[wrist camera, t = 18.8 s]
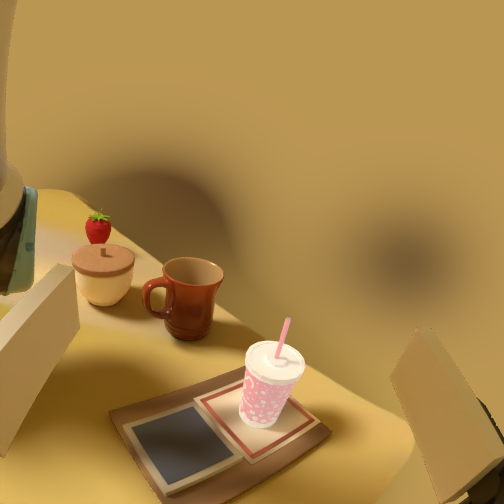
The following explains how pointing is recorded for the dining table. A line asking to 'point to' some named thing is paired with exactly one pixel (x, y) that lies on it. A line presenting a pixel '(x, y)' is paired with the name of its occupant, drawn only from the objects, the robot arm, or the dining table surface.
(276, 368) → the beverage cup
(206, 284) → the mug
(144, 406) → the stamp board
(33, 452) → the dining table surface
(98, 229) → the strawberry
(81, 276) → the lidded jar
